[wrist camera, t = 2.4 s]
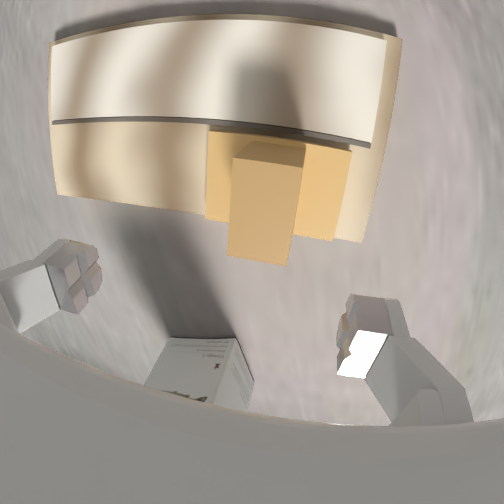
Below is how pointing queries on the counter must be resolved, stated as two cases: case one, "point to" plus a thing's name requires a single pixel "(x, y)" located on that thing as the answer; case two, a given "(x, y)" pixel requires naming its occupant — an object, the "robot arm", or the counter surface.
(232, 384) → the supplement box
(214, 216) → the stepped wooden block
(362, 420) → the counter surface
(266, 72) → the board
